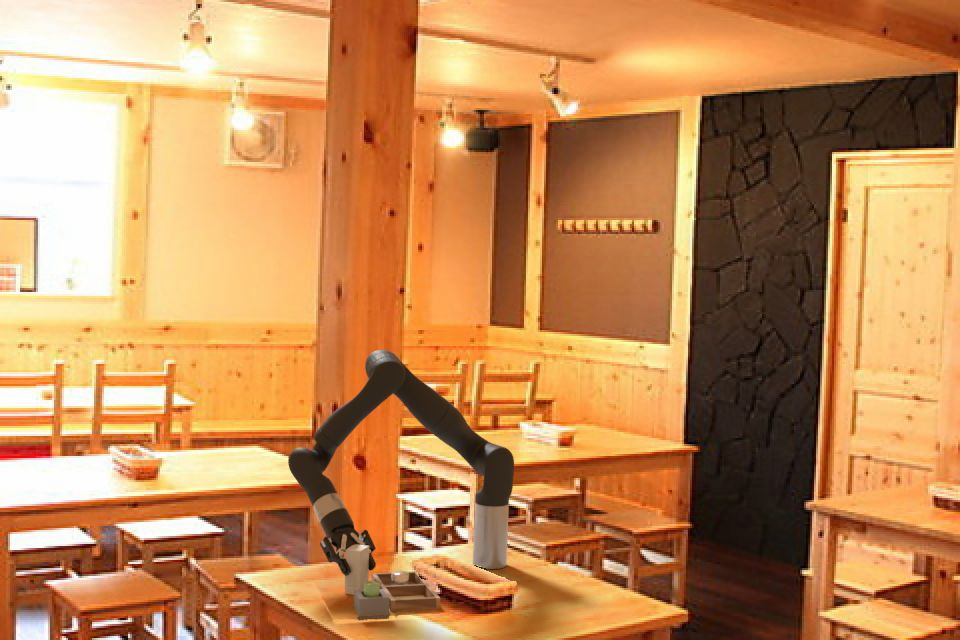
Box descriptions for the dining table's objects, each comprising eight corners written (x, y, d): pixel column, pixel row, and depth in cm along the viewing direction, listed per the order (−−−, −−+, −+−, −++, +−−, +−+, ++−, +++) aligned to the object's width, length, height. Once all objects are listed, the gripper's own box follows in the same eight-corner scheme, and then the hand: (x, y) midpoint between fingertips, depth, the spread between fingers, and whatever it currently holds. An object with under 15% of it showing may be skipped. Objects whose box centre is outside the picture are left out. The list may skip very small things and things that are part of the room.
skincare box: (352, 590, 302) (353, 543, 302) (368, 592, 301) (370, 545, 301) (343, 597, 297) (344, 549, 296) (359, 599, 295) (361, 551, 295)
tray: (371, 587, 306) (371, 573, 306) (417, 584, 310) (417, 571, 309) (390, 615, 284) (391, 600, 284) (439, 612, 288) (440, 598, 287)
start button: (362, 598, 285) (362, 581, 284) (377, 597, 286) (377, 581, 286) (365, 603, 281) (365, 586, 281) (380, 602, 282) (381, 585, 282)
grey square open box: (353, 611, 286) (354, 590, 286) (382, 609, 288) (383, 588, 288) (359, 620, 279) (359, 599, 279) (388, 618, 281) (389, 597, 281)
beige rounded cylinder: (389, 586, 304) (389, 571, 303) (406, 585, 305) (406, 570, 304) (392, 591, 299) (393, 576, 299) (410, 591, 301) (410, 575, 300)
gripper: (316, 511, 298) (344, 567, 290) (362, 503, 308) (390, 558, 300) (303, 528, 302) (330, 584, 294) (348, 520, 312) (376, 574, 305)
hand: (360, 571), depth 297 cm, fingers closed on skincare box, 7 cm apart
